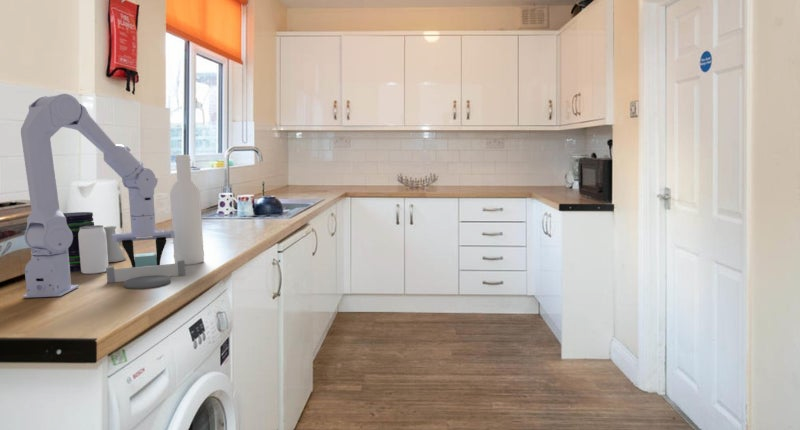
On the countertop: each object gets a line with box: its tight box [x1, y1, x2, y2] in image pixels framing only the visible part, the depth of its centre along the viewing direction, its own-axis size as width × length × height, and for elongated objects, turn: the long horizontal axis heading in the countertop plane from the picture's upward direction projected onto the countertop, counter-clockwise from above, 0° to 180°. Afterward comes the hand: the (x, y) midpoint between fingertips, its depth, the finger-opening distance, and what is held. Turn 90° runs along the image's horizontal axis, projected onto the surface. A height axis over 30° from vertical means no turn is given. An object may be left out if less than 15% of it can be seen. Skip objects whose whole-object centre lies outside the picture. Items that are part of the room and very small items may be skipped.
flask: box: [103, 225, 127, 263], centre depth 175 cm, size 7×7×10 cm
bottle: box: [169, 154, 205, 266], centre depth 168 cm, size 8×8×30 cm
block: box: [134, 252, 157, 267], centre depth 154 cm, size 5×5×5 cm
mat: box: [123, 275, 172, 290], centre depth 142 cm, size 10×10×1 cm
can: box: [78, 224, 109, 275], centre depth 158 cm, size 6×6×12 cm
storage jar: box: [62, 211, 95, 273], centre depth 163 cm, size 10×10×15 cm
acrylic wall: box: [106, 260, 186, 284], centre depth 148 cm, size 18×2×4 cm, turn 114°
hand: (146, 268), depth 154 cm, fingers closed on block, 5 cm apart
